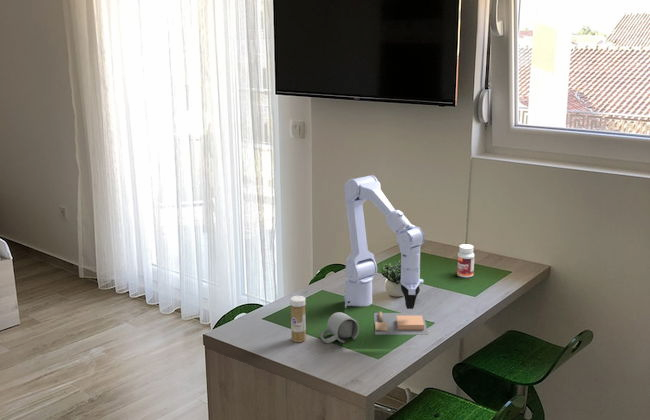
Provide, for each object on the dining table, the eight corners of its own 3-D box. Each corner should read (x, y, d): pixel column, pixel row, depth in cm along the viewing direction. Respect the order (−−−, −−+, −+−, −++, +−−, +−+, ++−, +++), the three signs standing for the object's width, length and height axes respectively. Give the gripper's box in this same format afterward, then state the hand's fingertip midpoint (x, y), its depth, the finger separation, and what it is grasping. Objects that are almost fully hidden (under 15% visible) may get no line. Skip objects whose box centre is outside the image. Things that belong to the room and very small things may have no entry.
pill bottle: (454, 276, 258) (455, 247, 255) (460, 271, 263) (461, 242, 260) (470, 278, 255) (471, 249, 252) (475, 273, 260) (477, 245, 257)
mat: (375, 336, 209) (375, 334, 209) (373, 315, 225) (373, 312, 224) (428, 336, 209) (428, 334, 208) (423, 315, 224) (423, 313, 224)
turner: (375, 331, 211) (375, 327, 211) (374, 314, 223) (374, 311, 223) (387, 331, 211) (387, 327, 211) (385, 314, 223) (385, 311, 223)
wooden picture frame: (396, 320, 219) (397, 329, 212) (396, 315, 218) (397, 324, 211) (421, 320, 218) (423, 330, 211) (422, 315, 218) (424, 324, 211)
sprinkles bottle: (289, 341, 207) (287, 299, 204) (295, 335, 211) (293, 294, 208) (303, 343, 206) (301, 301, 202) (308, 337, 210) (307, 296, 206)
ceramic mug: (346, 329, 214) (346, 307, 212) (359, 340, 207) (359, 316, 205) (316, 337, 210) (315, 314, 208) (328, 348, 203) (327, 324, 201)
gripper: (425, 275, 204) (425, 317, 208) (421, 258, 218) (420, 298, 222) (401, 275, 205) (401, 317, 208) (399, 259, 219) (398, 298, 222)
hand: (409, 307), depth 215 cm, fingers closed
